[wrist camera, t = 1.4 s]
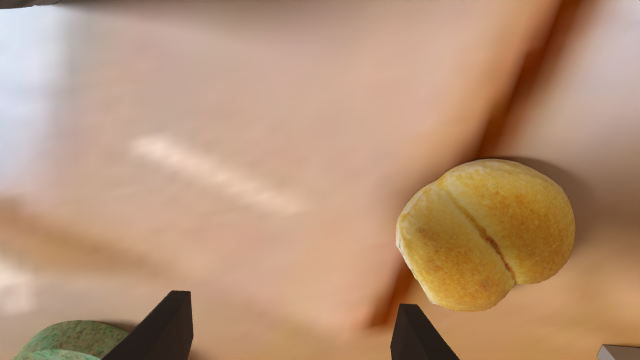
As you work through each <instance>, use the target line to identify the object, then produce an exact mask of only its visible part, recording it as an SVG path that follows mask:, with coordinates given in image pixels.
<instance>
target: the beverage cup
mask: <svg viewBox="0 0 640 360" xmlns="http://www.w3.org/2000/svg"><path fill="white" fill-rule="evenodd" d="M58 1H60V0H0V9H13V8H23V7H32V6H34V5H38V6H40V5H49V4H54V3H56V2H58Z"/></svg>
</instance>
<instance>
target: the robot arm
mask: <svg viewBox="0 0 640 360" xmlns="http://www.w3.org/2000/svg"><path fill="white" fill-rule="evenodd" d="M192 340H193V322H192V307H191V292H190V291H175V290H172V291H171V292H170V293H169V294H168V295H167V296H166V297H165V298H164V299H163V300H162V301H161V302H160V303H159V304H158V305H157V306H156V307H155V308H154V309H153V310H152V311H151V312H150V313H149V315H148V316H147V317H146V318H145V319H144V320H143V321H142V322H141V323H140V324H139V325H138V326H136V327H135V328H134V329H133V330H132V331H131V332H130V333H129V334H128V335H127V336H126V337H125V338H124V339H123V340H122V341H121V342H120V343H119V344H117V345H116V346H115V347H114V348H113V349H112V350H111V351H110V352H108V353H107V354H106V355H105V356H104V357H103V358H102V359H101V360H187V358H188V355H189V351H190V347H191V344H192ZM390 348H391V356H392V360H460V359H459V358H458V357H457V356H456V354H455V353H454V352H453V351H452V349H451V348H450V347H449V346H448V345H447V343H446V342H445V341H444V339H443V338H442V337H441V336H440V334H439V333H438V332H437V330H436V329H435V328H434V326H433V325H432V324H431V322H430V321H429V320H428V318H427V317H426V315H425V314H424V313H423V311H422V310H421V309H420V307H419V306H418V305H416V304H400V305H399V310H398V314H397V319H396V323H395V328H394V332H393V337H392V341H391V346H390Z"/></svg>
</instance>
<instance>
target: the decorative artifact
mask: <svg viewBox="0 0 640 360" xmlns="http://www.w3.org/2000/svg"><path fill="white" fill-rule="evenodd" d="M128 334H129V332H127V331H125V330H122V329H120V328H117V327H115V326H112V325H109V324H105V323H100V322H95V321H81V320H77V321H67V322H62V323H58V324H55V325H52V326H50V327H47V328H45V329H44V330H42V331H41V332H39V333H38V334H37V335H36V336H35V337H34V338H33V339H32V340H31V341H30V342H29V343H28V344H27V345H26V346H25V347H24V348H23V349H22V350H21V351H20V352H19V353H18V354H17V355H16V356H15V358H14V359H13V360H101V359H102V358H103V357H104V356H105V355H106V354H107V353H108V352H110V351H111V350H112V349H113V348H114V347H115V346H116V345H117V344H119V343H120V342H121V341H122V340H123V339H124V338H125V337H126V336H127V335H128Z"/></svg>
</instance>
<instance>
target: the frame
mask: <svg viewBox="0 0 640 360" xmlns="http://www.w3.org/2000/svg"><path fill="white" fill-rule="evenodd" d="M597 357H598V358H599V360H640V348H635V347H623V346H610V345H602V347H601V349H600V351H599V354H598V356H597Z"/></svg>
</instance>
